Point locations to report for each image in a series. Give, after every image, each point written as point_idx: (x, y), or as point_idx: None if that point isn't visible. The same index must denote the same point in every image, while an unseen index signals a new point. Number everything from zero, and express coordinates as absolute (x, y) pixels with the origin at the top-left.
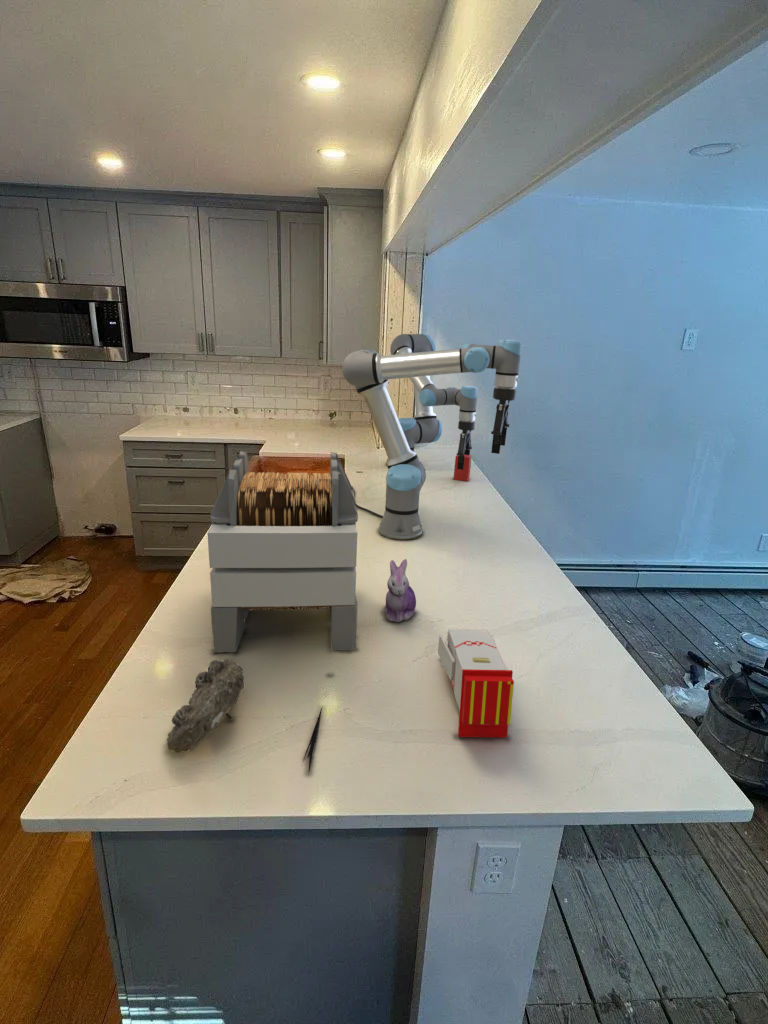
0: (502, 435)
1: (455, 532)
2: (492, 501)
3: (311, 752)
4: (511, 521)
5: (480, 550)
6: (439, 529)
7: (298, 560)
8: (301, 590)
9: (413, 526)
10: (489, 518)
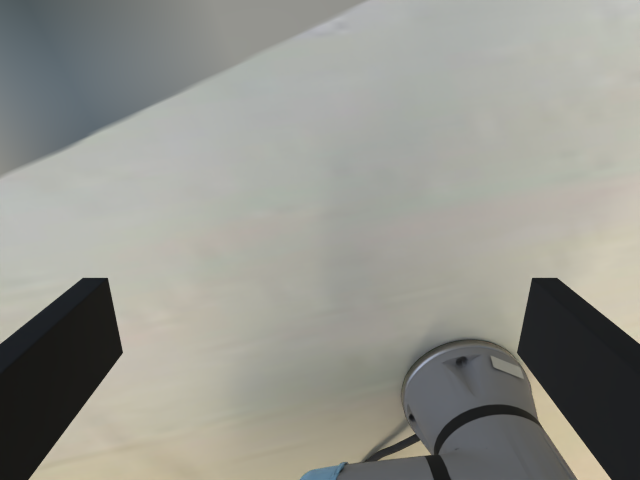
0: (40, 392)
1: (404, 257)
2: (8, 196)
3: None
4: (201, 88)
5: (537, 154)
6: (397, 305)
7: None
8: None
9: (516, 377)
10: (213, 175)
